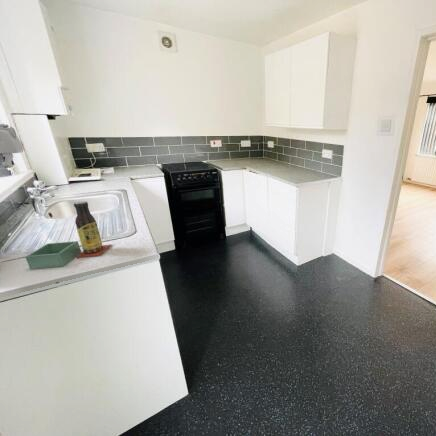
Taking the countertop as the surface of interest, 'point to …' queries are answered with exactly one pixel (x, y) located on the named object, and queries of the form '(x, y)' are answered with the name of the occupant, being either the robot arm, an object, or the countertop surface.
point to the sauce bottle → (87, 228)
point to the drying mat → (99, 253)
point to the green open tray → (53, 255)
